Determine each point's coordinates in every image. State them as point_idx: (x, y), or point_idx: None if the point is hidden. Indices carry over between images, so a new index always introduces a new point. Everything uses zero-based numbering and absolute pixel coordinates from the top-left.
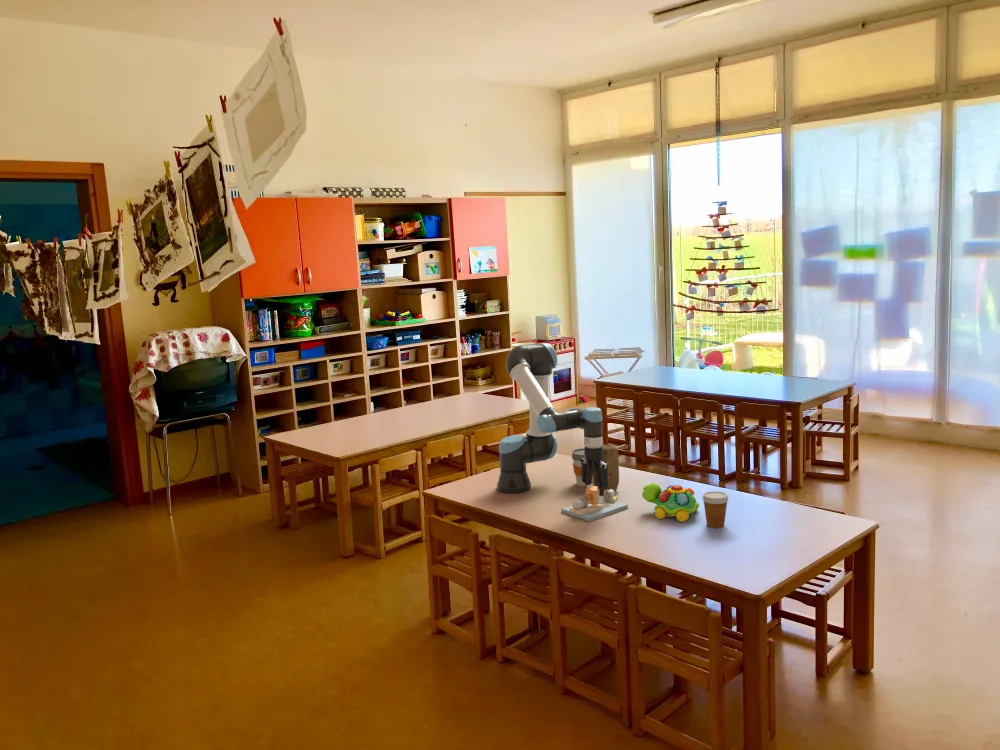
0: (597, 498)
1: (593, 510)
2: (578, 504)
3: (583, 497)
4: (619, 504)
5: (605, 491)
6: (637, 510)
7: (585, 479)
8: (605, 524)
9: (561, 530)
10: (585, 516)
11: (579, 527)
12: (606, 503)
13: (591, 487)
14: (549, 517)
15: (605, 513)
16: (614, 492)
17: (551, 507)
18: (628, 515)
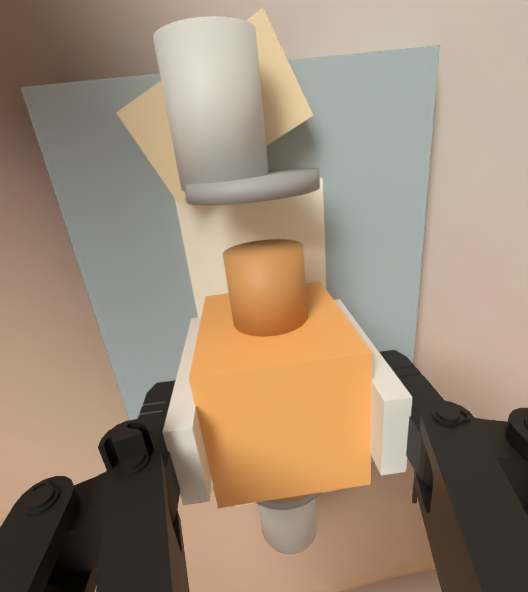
0: None
1: None
2: (315, 525)
3: (289, 504)
4: (375, 117)
5: (249, 199)
6: (525, 30)
7: (72, 560)
8: (493, 402)
9: (377, 567)
10: (371, 462)
11: (413, 506)
12: (273, 203)
13: (231, 444)
14: (196, 544)
15: (410, 332)
16: (253, 28)
17: (40, 479)
18: (525, 191)
